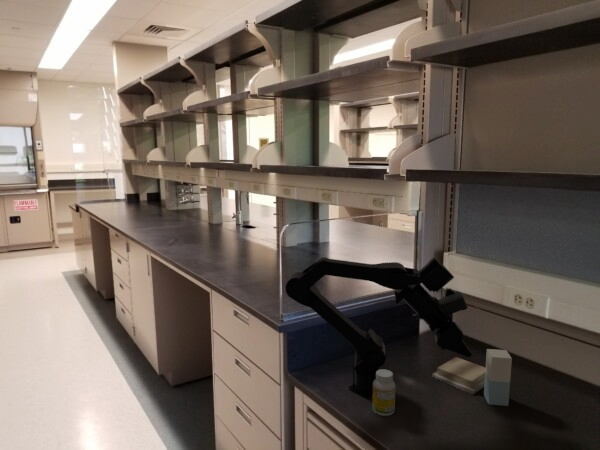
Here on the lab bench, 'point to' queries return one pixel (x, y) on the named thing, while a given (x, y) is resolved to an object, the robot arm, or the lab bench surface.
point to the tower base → (462, 375)
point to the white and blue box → (497, 377)
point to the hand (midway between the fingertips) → (466, 348)
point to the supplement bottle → (383, 393)
